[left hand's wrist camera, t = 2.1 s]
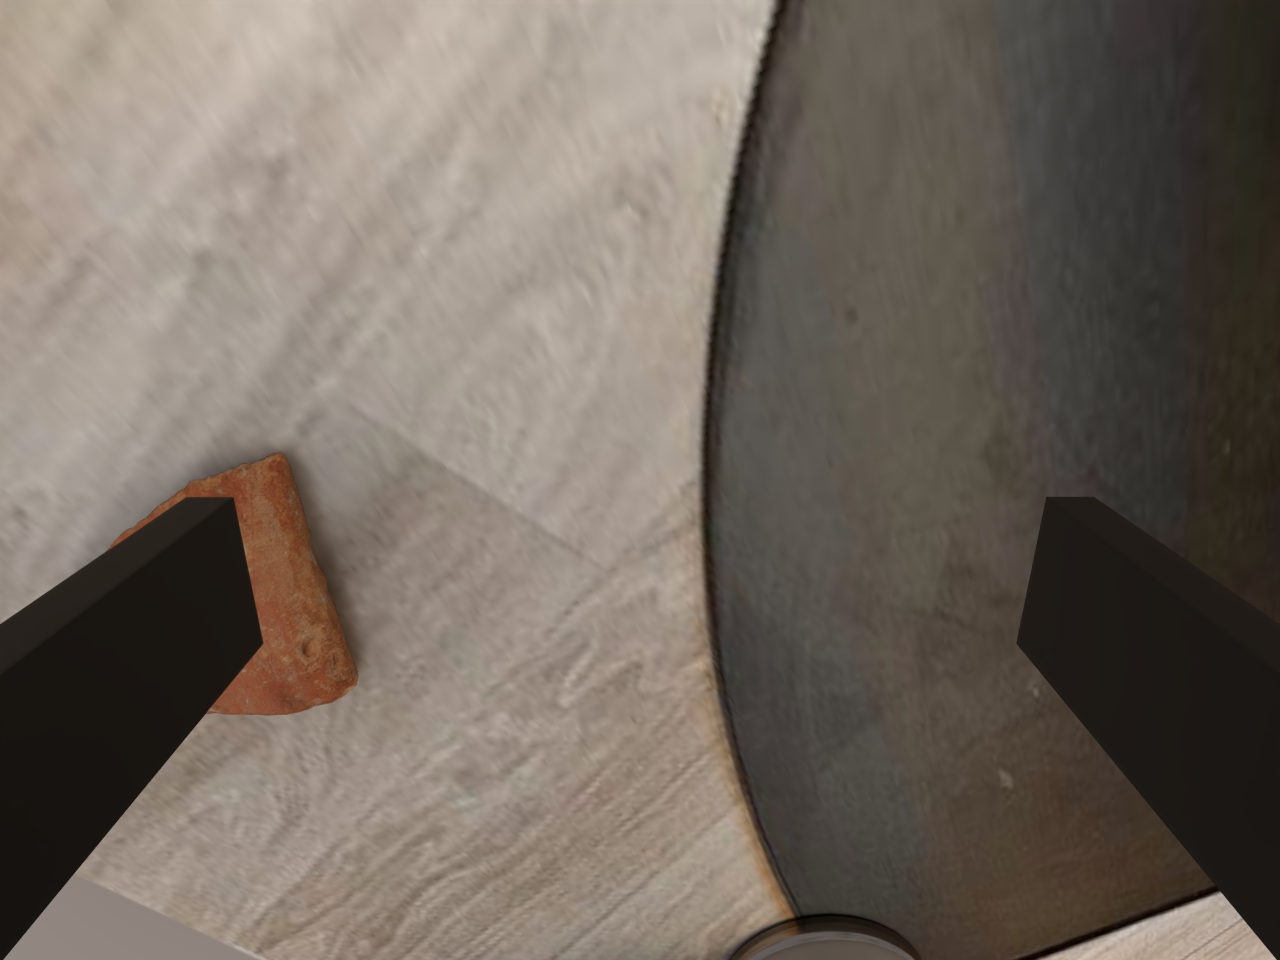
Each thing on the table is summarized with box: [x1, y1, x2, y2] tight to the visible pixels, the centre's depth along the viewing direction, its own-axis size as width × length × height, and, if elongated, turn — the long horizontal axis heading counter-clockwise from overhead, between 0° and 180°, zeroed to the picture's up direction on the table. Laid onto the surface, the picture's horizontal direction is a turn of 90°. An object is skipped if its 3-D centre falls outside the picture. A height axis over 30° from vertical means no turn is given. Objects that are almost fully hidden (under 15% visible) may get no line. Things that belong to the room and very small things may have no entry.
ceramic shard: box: [106, 453, 358, 715], centre depth 42 cm, size 15×6×15 cm
